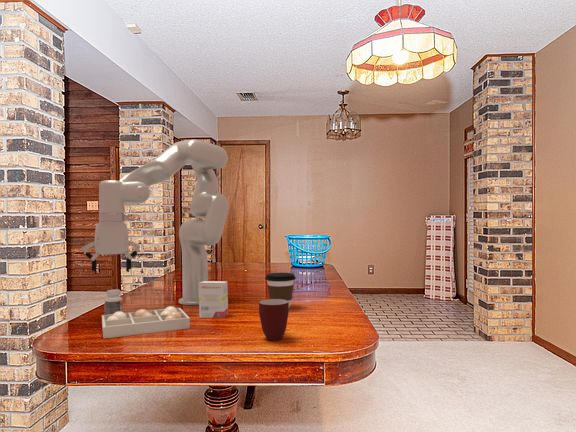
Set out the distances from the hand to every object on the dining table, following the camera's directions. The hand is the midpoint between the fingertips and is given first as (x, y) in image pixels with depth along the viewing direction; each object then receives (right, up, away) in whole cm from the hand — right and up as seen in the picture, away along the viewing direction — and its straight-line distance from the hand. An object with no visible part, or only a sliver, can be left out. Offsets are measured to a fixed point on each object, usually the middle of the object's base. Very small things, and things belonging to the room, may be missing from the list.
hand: (111, 272), depth 142 cm
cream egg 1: (+5, -15, -9) cm, 19 cm away
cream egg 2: (+19, -15, -3) cm, 25 cm away
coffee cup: (+54, -15, +16) cm, 58 cm away
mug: (+53, -15, -21) cm, 59 cm away
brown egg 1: (+12, -15, -6) cm, 20 cm away
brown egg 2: (+22, -15, -10) cm, 29 cm away
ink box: (+32, -15, +3) cm, 36 cm away
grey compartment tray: (+14, -16, -10) cm, 23 cm away
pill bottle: (0, -16, +1) cm, 16 cm away
